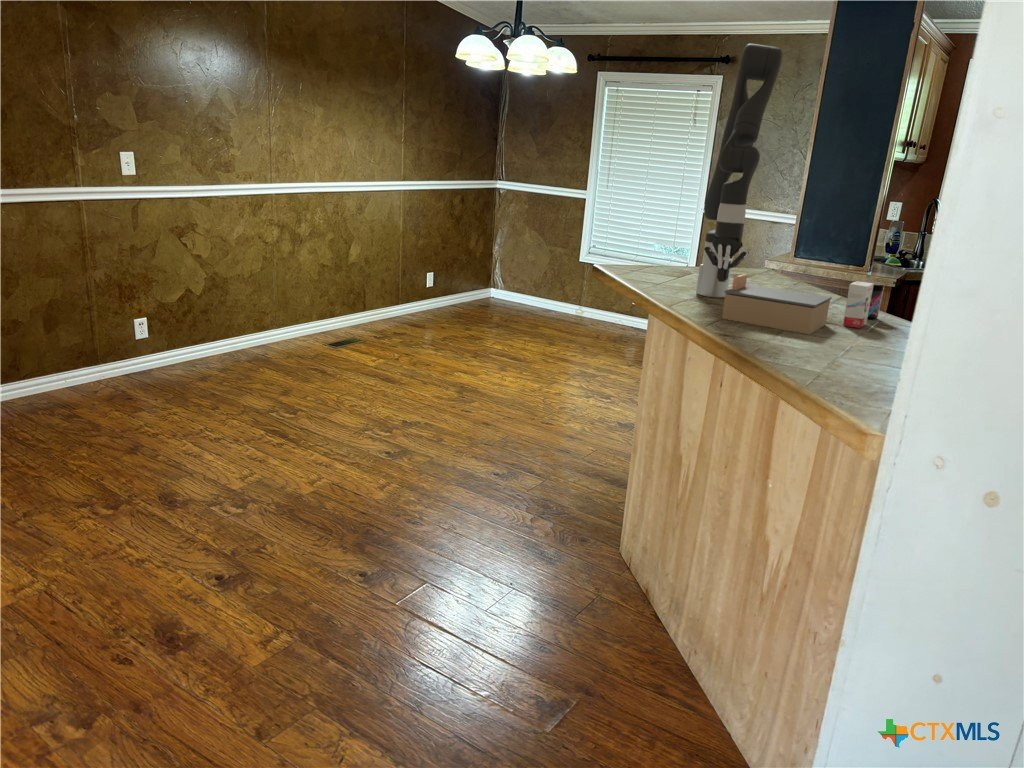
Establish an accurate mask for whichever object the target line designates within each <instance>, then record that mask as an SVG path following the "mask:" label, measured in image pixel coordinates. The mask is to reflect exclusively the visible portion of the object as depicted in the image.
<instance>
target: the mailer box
mask: <svg viewBox="0 0 1024 768" xmlns="http://www.w3.org/2000/svg"><path fill="white" fill-rule="evenodd" d="M830 304H831V300H829V301H827V302H825V303H823V304H821V305H819V306H817V307H809V306H803V305H797V304H791V303H784V302H778V301H772V300H765V299H759V298H753V297H747V296H740V295H734V294H728V293H727V294H725V297H724V301H723V308H722V315H721V319H722V320H727V319H728V320H729V321H732V320H733V322H738V321H739V322H738V323H743V324H749V325H754V324H755V325H756V326H761V327H765V328H766V327H767V328H773V329H777V330H781V331H782V330H783V331H789V332H793V333H799V334H806V335H811V334H812V333H814V332H816V331H817V330H819V329H821V328H823V327H824V326H826V324H827V318H828V314H829V309H830Z"/></svg>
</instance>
